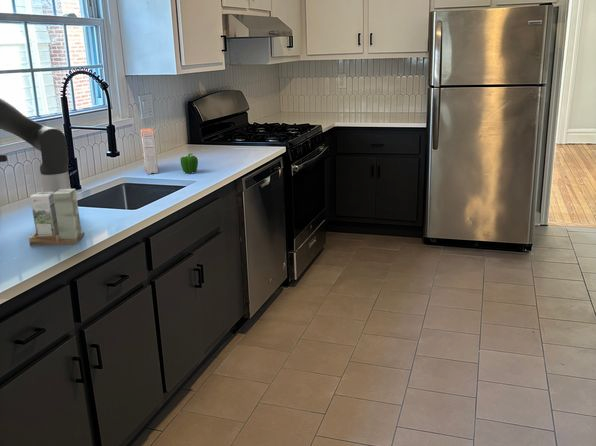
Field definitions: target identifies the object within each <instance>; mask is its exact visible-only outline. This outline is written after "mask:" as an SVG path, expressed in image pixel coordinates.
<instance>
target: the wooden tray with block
mask: <svg viewBox="0 0 596 446" xmlns="http://www.w3.org/2000/svg"><path fill="white" fill-rule="evenodd" d="M53 198H54V204H55V212H56V219H57V224H58V230H59V234H58V235H57V236H39V237H37V235H36V231H35V232H34V233H33V234H31V235H30V236H29V237H28V241H29V246H31V247H32V246H54V245H55V246H56V245H57V246H58V245H74V244H75V243H76V242H77V241H78V240H79V239H80V238H81V237H82V236H83V235H84V236H85V232H84V231H82V227H81V220H80V212H79V207H78V206H79V205H78V198H77V191H76V188H71V189H59V190H58V191H56V192H55V193H53ZM84 236H83V237H84ZM83 237H82V238H83ZM82 238H81V239H82ZM81 239H80V240H81ZM80 240H79V241H80ZM79 241H78V242H79ZM78 242H77V243H78ZM77 243H76V244H77ZM76 244H75V245H76Z"/></svg>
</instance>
